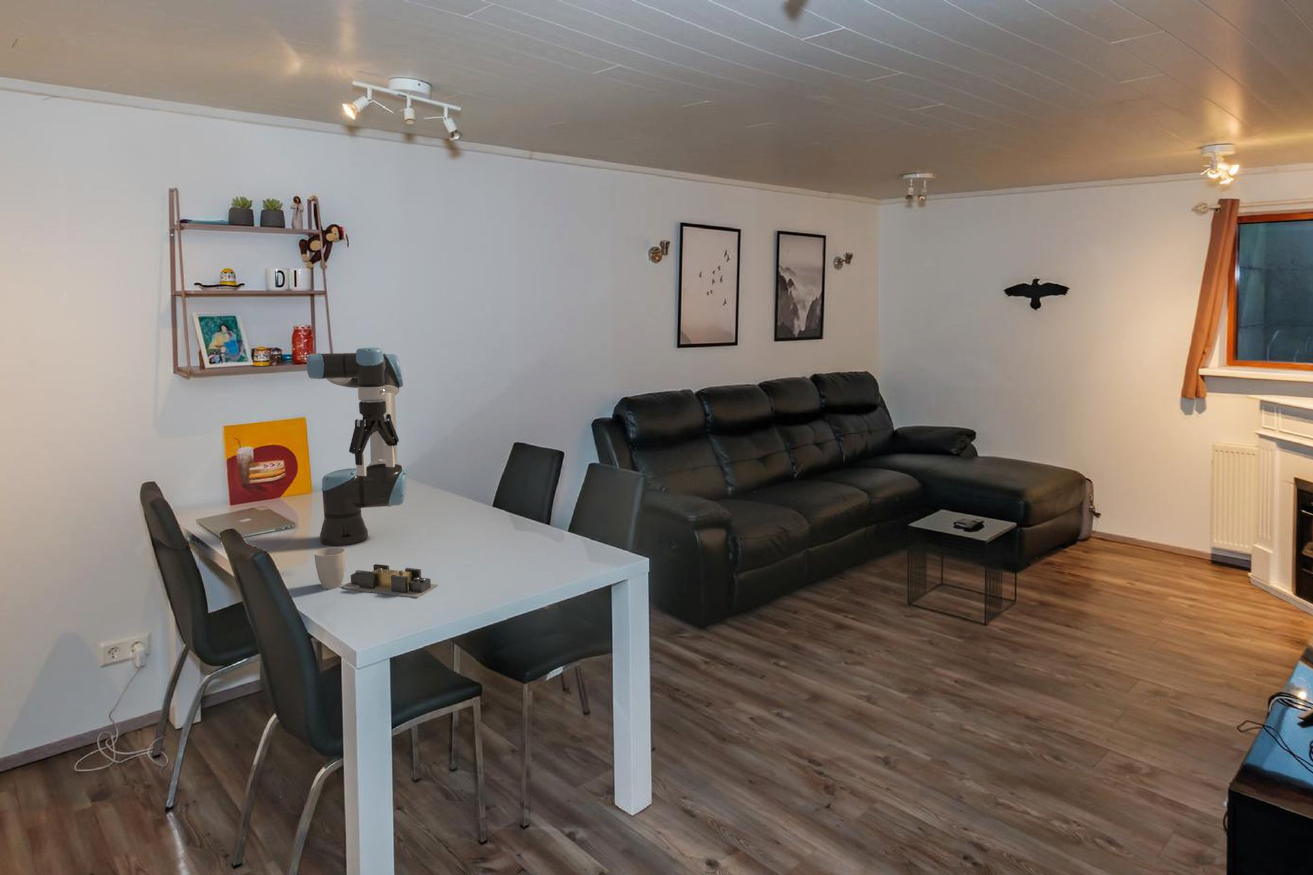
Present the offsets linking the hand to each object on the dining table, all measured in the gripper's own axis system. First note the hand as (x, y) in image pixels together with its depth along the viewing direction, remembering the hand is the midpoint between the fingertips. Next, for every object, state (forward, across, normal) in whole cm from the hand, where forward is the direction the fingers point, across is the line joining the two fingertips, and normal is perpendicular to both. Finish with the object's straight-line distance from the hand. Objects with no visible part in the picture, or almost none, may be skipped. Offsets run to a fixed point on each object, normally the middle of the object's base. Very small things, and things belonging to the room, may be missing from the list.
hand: (376, 471), depth 247 cm
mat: (+29, -17, -16) cm, 37 cm away
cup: (+29, -21, +1) cm, 36 cm away
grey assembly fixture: (+29, -17, -16) cm, 37 cm away
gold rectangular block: (+28, -17, -16) cm, 37 cm away
